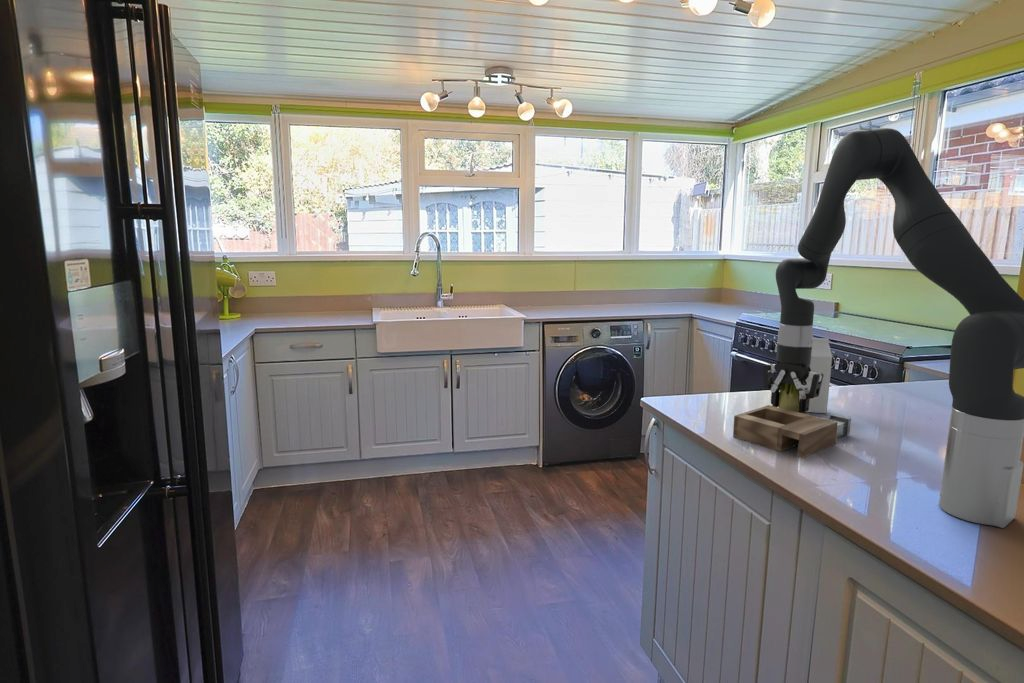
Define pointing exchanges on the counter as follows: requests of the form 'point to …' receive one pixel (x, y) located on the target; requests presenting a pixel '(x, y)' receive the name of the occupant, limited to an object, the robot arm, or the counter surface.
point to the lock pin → (841, 425)
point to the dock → (785, 429)
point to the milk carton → (820, 364)
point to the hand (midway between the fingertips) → (789, 409)
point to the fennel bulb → (789, 397)
